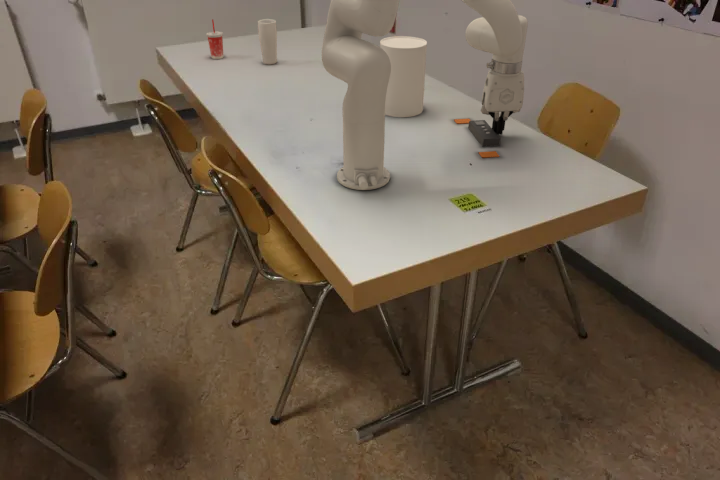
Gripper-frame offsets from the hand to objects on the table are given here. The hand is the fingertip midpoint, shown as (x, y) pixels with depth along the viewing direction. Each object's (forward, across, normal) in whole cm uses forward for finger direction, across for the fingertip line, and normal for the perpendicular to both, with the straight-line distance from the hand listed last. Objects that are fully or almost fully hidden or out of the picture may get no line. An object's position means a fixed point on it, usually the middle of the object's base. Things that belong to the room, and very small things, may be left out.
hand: (497, 132), depth 158 cm
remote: (+1, -4, 0) cm, 4 cm away
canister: (+1, -22, +24) cm, 33 cm away
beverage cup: (+1, -82, +88) cm, 120 cm away
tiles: (+1, -6, 0) cm, 6 cm away
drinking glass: (+1, -62, +78) cm, 99 cm away
